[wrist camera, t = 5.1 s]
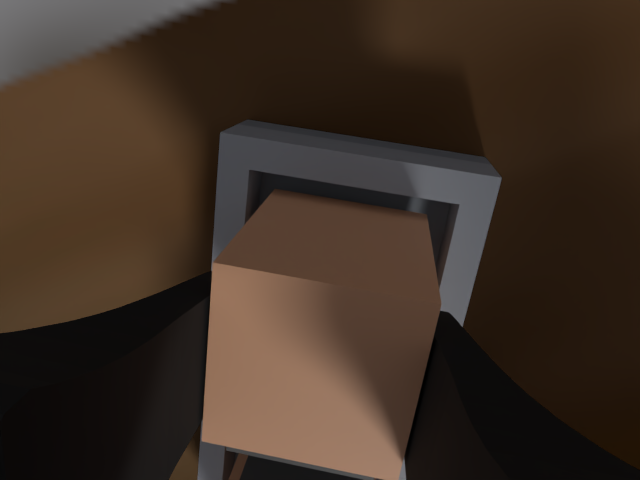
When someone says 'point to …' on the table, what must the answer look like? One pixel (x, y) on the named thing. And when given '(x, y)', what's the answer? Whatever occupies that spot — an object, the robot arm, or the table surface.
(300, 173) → the grey rimmed tray
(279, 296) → the tan matte cube
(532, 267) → the table surface
